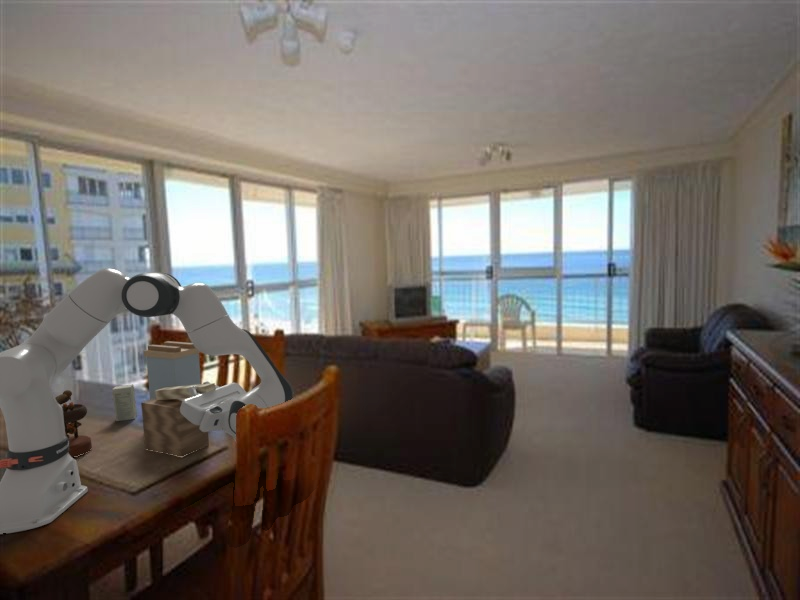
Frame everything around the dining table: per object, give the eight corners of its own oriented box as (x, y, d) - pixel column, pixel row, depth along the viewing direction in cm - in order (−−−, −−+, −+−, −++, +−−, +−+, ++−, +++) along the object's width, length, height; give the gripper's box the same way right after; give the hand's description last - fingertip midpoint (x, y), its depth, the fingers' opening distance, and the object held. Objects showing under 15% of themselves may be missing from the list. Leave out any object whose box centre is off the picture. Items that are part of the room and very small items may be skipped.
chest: (206, 420, 167) (200, 342, 164) (179, 431, 157) (173, 348, 154) (176, 415, 173) (170, 340, 170) (150, 425, 163) (143, 346, 160)
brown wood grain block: (209, 445, 145) (205, 398, 143) (181, 458, 136) (177, 408, 134) (173, 437, 152) (169, 393, 150) (145, 449, 143) (141, 402, 141)
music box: (83, 459, 137) (69, 394, 134) (41, 467, 134) (26, 401, 132) (103, 439, 152) (91, 380, 149) (65, 446, 149) (52, 387, 147)
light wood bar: (216, 393, 137) (214, 383, 137) (207, 396, 134) (205, 386, 133) (166, 396, 146) (164, 387, 146) (156, 400, 143) (154, 390, 143)
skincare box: (137, 415, 175) (134, 383, 173) (134, 419, 171) (131, 386, 169) (117, 417, 173) (115, 385, 171) (114, 421, 169) (111, 389, 167)
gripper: (258, 394, 141) (227, 368, 146) (204, 416, 123) (171, 386, 127) (251, 410, 143) (221, 384, 148) (197, 434, 125) (164, 404, 129)
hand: (197, 385), depth 137 cm, fingers closed on light wood bar, 3 cm apart
